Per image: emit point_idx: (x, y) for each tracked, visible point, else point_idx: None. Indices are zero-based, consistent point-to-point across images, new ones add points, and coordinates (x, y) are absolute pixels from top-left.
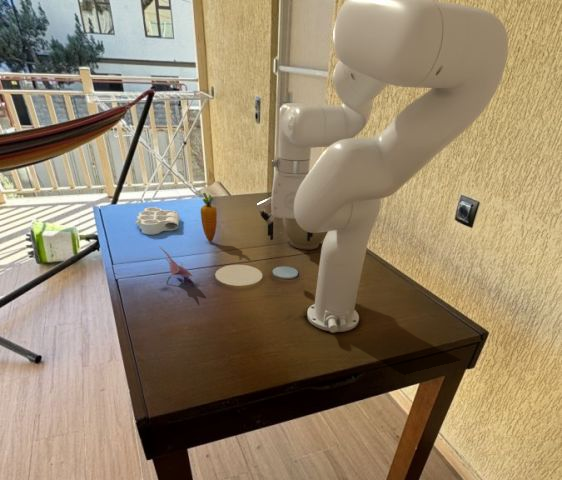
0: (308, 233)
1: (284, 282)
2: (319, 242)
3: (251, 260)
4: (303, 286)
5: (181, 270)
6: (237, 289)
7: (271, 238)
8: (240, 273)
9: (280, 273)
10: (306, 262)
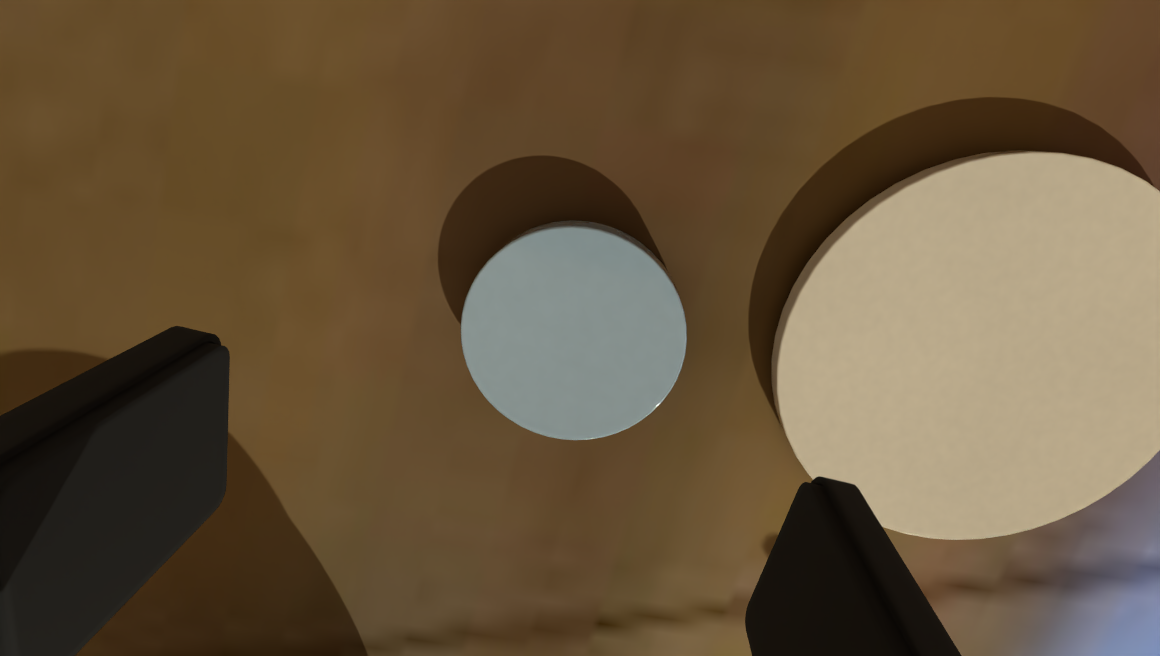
0: (112, 386)
1: None
2: None
3: None
4: (459, 133)
5: None
6: None
7: (841, 490)
8: (967, 384)
9: (624, 313)
10: (347, 530)
